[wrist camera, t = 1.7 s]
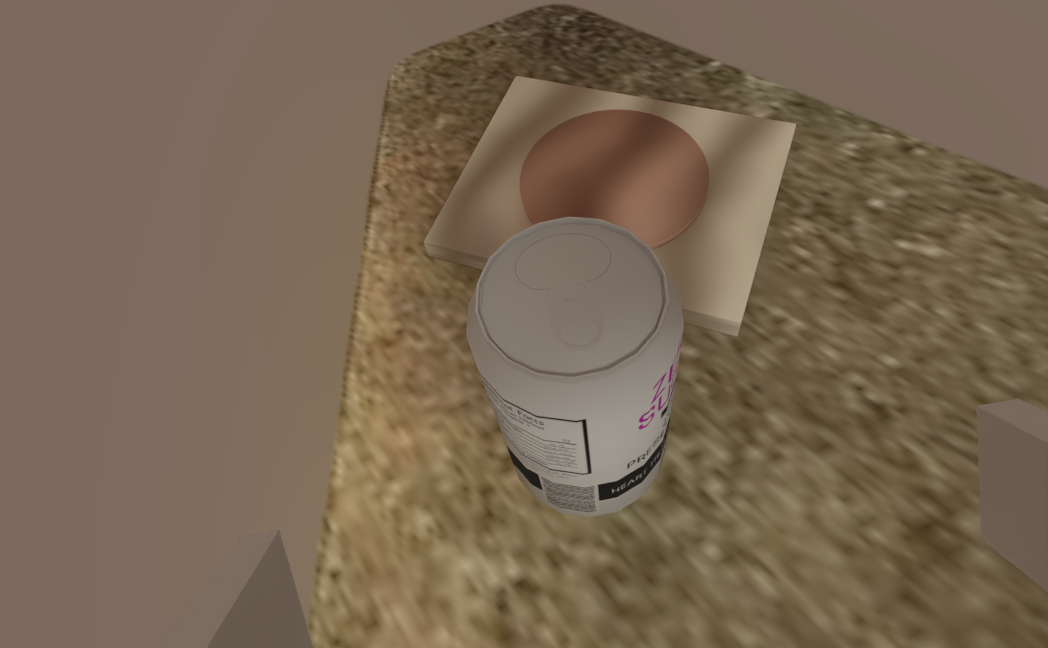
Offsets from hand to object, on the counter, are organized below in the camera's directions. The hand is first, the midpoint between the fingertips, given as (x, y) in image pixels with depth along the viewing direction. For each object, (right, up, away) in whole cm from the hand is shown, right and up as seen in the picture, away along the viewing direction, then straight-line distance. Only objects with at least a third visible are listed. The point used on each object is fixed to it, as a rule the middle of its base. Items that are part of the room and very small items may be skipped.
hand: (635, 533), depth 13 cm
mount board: (+4, +12, +34) cm, 36 cm away
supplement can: (+1, -3, +25) cm, 25 cm away
